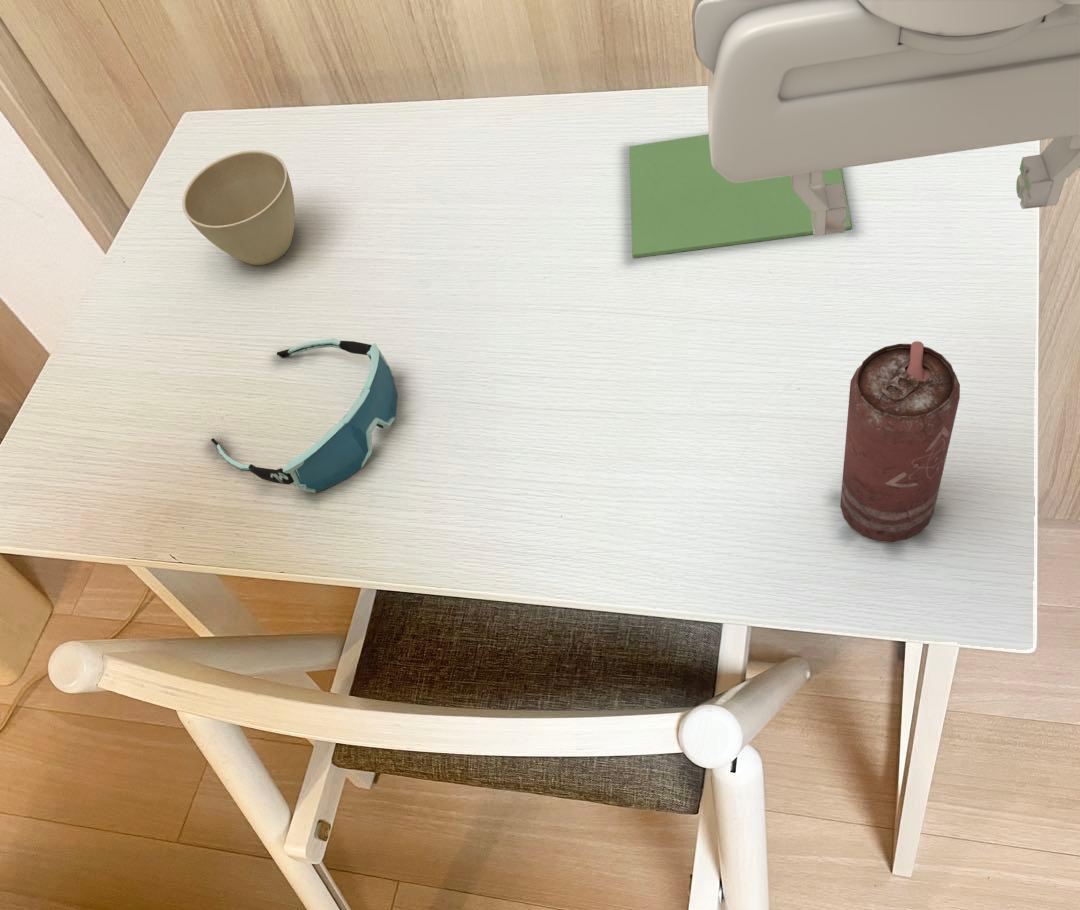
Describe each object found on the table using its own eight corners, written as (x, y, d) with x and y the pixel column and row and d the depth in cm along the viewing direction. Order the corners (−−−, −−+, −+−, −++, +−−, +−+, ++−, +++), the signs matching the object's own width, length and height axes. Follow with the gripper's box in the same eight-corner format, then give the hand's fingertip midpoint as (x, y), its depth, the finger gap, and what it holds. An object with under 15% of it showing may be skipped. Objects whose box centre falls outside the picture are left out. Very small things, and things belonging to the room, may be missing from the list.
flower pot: (236, 301, 95) (199, 243, 89) (206, 241, 101) (169, 183, 95) (331, 251, 96) (301, 190, 90) (297, 194, 102) (266, 134, 96)
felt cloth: (830, 119, 92) (831, 115, 91) (851, 229, 85) (851, 225, 84) (630, 149, 95) (629, 146, 95) (633, 258, 88) (632, 254, 88)
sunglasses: (340, 515, 80) (309, 477, 76) (212, 475, 87) (178, 438, 84) (431, 379, 85) (406, 337, 81) (303, 353, 93) (274, 313, 89)
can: (935, 471, 71) (964, 336, 60) (930, 550, 69) (960, 424, 57) (844, 465, 73) (855, 332, 62) (836, 541, 70) (846, 417, 59)
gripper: (691, 19, 38) (713, 288, 49) (1315, -88, 34) (1179, 230, 46) (683, -76, 41) (705, 197, 53) (1252, -183, 37) (1140, 136, 49)
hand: (929, 212), depth 49 cm, fingers open, 8 cm apart
